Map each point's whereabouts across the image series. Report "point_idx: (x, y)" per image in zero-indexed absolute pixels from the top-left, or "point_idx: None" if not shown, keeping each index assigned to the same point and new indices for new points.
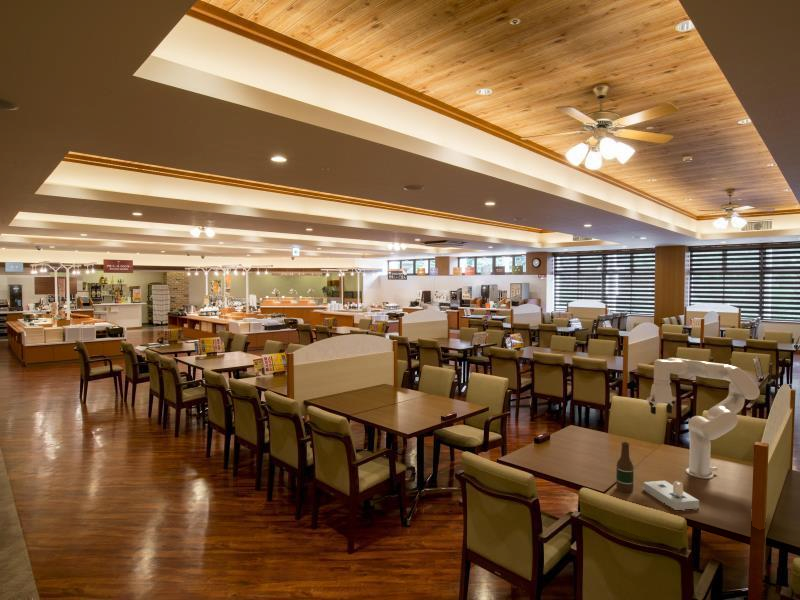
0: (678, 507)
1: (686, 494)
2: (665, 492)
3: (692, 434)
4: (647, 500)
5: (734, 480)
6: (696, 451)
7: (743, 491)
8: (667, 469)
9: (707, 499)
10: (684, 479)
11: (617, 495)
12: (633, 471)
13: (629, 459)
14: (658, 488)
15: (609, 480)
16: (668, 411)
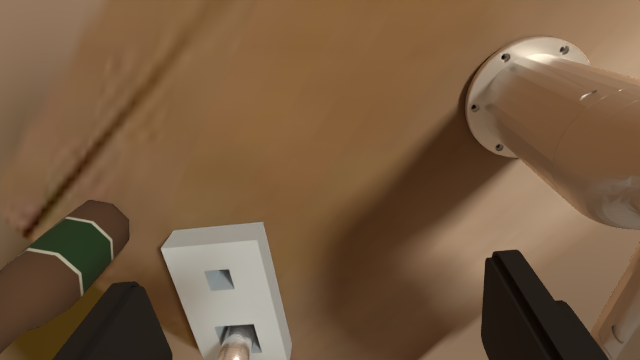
0: None
1: (272, 336)
2: (207, 321)
3: (623, 194)
4: (158, 294)
5: None
6: (543, 177)
7: (550, 261)
8: (402, 28)
9: (363, 300)
10: (402, 151)
11: None
12: (85, 291)
13: (28, 328)
14: (196, 295)
15: (59, 145)
16: (491, 319)
